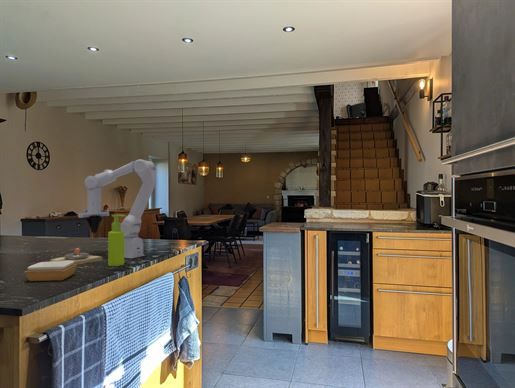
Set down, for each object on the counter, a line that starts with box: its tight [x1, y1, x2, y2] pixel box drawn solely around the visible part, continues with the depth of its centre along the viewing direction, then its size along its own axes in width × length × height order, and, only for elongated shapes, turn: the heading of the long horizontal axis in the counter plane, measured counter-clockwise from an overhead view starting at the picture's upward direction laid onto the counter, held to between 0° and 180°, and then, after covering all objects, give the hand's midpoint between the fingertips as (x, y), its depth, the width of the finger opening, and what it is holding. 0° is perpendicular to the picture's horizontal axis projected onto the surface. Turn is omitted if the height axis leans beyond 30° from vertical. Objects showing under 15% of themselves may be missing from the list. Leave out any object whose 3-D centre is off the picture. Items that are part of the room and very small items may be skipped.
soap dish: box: [24, 261, 78, 282], centre depth 116 cm, size 12×10×5 cm
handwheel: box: [64, 247, 90, 259], centre depth 145 cm, size 9×9×4 cm
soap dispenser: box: [107, 213, 127, 267], centre depth 138 cm, size 6×7×20 cm
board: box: [49, 254, 103, 266], centre depth 145 cm, size 14×14×1 cm
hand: (94, 232), depth 158 cm, fingers closed
